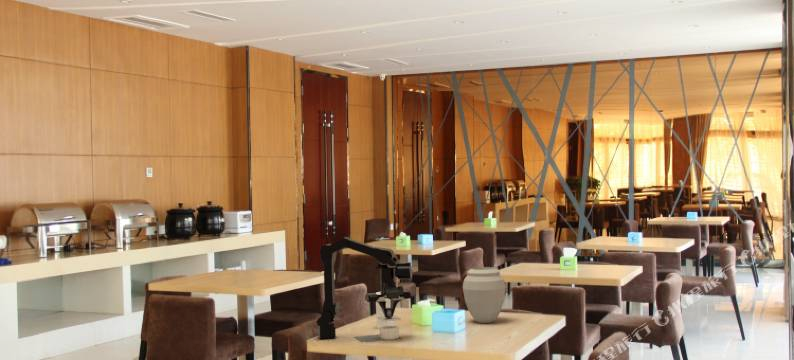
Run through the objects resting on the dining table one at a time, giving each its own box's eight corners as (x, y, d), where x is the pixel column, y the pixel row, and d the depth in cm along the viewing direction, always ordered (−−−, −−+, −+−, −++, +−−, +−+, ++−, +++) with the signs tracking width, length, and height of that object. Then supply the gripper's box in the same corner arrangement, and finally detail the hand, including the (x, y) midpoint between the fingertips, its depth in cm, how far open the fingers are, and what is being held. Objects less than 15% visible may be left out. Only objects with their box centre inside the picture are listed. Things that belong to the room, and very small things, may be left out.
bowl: (384, 340, 331) (383, 329, 331) (378, 337, 338) (377, 326, 338) (401, 338, 334) (401, 327, 334) (395, 335, 341) (395, 325, 341)
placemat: (362, 343, 328) (362, 342, 328) (353, 337, 341) (353, 337, 341) (402, 339, 333) (402, 338, 333) (391, 334, 347) (391, 333, 347)
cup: (393, 330, 356) (391, 293, 356) (375, 330, 357) (373, 293, 358) (397, 326, 364) (395, 291, 364) (379, 326, 366) (377, 291, 366)
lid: (383, 321, 331) (382, 310, 331) (377, 318, 338) (377, 307, 338) (400, 319, 334) (400, 308, 334) (394, 317, 341) (394, 306, 341)
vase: (513, 319, 371) (511, 266, 371) (495, 326, 355) (493, 271, 355) (475, 317, 382) (473, 265, 382) (456, 324, 365) (454, 270, 365)
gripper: (372, 282, 325) (373, 321, 325) (415, 279, 332) (416, 317, 331) (363, 280, 336) (365, 317, 336) (406, 276, 342) (407, 313, 342)
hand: (388, 316), depth 336 cm, fingers closed on lid, 2 cm apart
